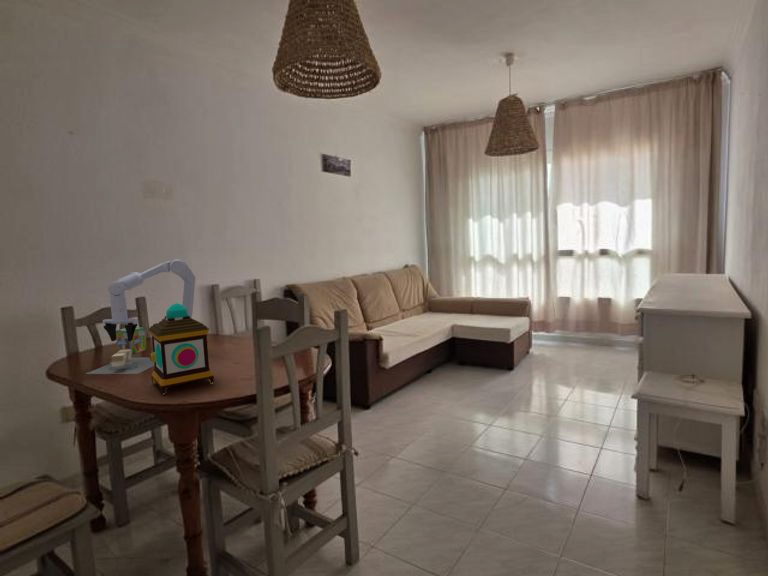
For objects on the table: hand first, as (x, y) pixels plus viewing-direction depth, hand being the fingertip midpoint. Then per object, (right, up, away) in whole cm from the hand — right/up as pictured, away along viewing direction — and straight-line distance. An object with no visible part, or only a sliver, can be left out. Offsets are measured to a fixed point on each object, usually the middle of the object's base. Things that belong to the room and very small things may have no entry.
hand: (122, 340), depth 192 cm
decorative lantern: (+39, -13, -28) cm, 50 cm away
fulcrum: (+5, -11, -7) cm, 13 cm away
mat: (+5, -11, -2) cm, 12 cm away
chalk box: (-8, -9, +22) cm, 25 cm away
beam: (+5, -8, -7) cm, 12 cm away
